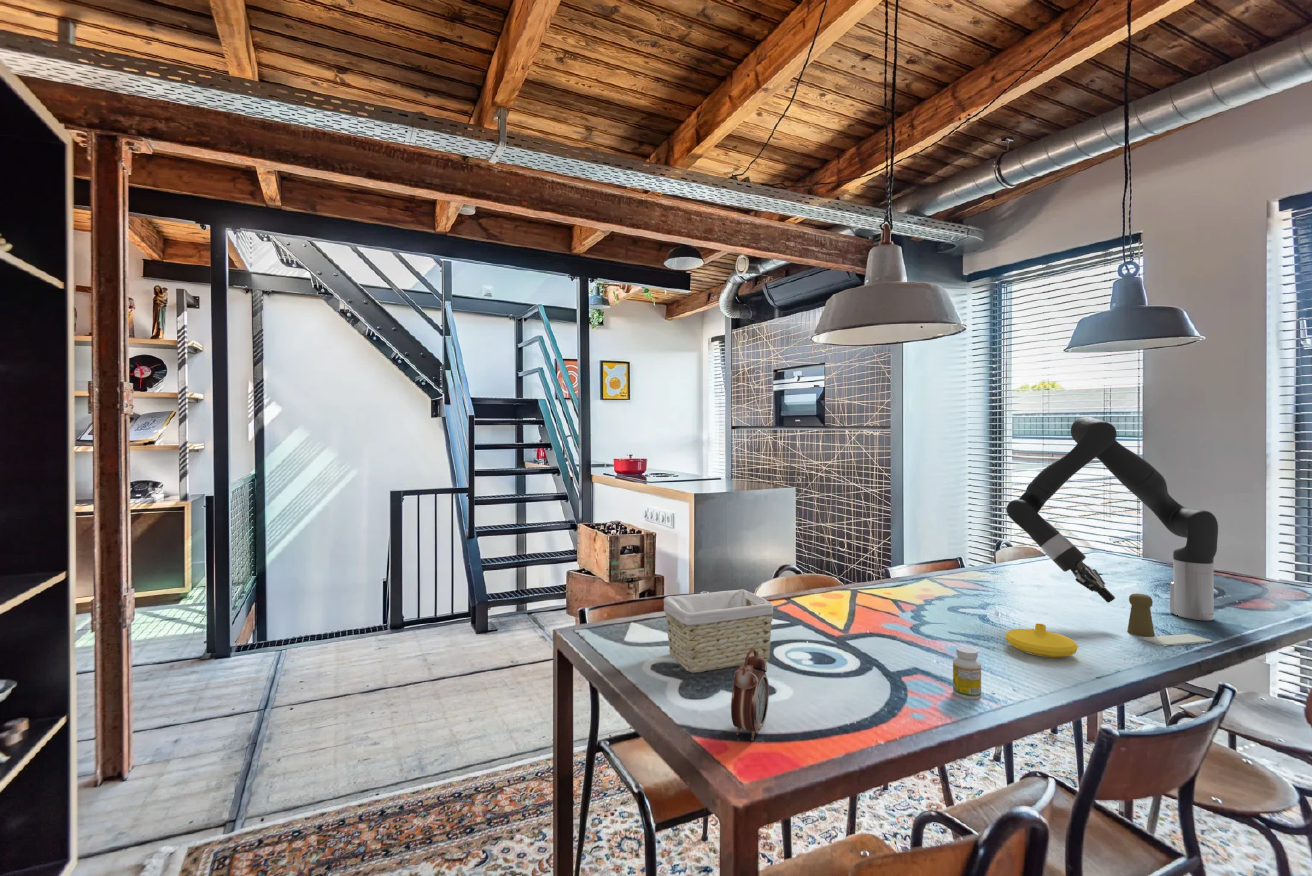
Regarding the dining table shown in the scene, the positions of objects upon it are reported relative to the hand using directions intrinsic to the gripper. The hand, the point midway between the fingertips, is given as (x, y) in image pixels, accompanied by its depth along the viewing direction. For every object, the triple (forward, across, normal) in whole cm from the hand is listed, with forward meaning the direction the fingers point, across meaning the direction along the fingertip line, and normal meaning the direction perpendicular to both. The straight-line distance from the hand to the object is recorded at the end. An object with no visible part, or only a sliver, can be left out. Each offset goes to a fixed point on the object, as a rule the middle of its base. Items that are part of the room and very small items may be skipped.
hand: (1112, 600), depth 172 cm
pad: (+16, 0, -5) cm, 16 cm away
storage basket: (-33, -106, +45) cm, 120 cm away
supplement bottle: (+1, -80, +10) cm, 81 cm away
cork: (+10, 0, +1) cm, 10 cm away
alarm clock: (-12, -128, +23) cm, 131 cm away
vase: (+2, -39, +10) cm, 40 cm away
